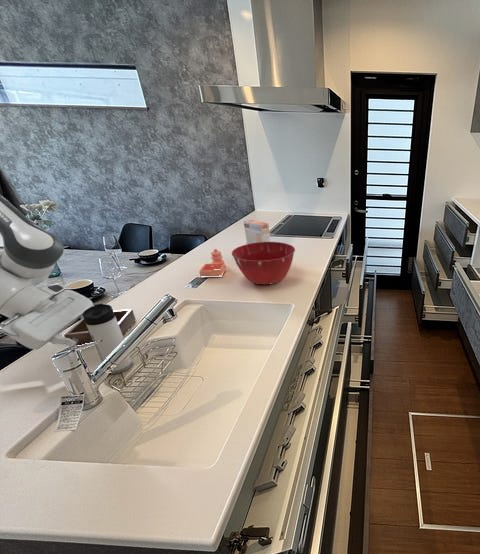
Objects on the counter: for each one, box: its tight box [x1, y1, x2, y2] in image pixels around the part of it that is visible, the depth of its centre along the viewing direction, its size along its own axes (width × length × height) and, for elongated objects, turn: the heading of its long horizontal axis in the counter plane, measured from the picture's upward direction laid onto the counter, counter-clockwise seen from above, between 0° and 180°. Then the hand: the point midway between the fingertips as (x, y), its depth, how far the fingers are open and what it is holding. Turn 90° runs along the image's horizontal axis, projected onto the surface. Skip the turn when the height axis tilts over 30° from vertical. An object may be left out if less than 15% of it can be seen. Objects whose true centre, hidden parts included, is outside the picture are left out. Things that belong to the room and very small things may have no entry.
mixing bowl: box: [231, 241, 296, 285], centre depth 146 cm, size 28×28×15 cm
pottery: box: [199, 248, 226, 278], centre depth 155 cm, size 18×10×10 cm, turn 11°
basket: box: [64, 308, 137, 345], centre depth 104 cm, size 14×14×5 cm
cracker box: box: [243, 219, 271, 244], centre depth 173 cm, size 14×6×21 cm, turn 59°
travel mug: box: [83, 302, 133, 375], centre depth 86 cm, size 6×7×20 cm
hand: (87, 333), depth 84 cm, fingers open, 8 cm apart
